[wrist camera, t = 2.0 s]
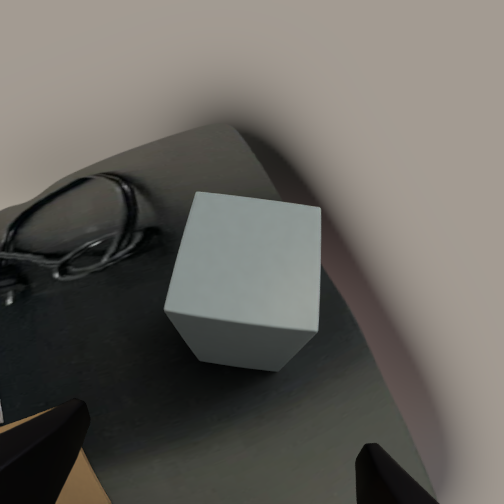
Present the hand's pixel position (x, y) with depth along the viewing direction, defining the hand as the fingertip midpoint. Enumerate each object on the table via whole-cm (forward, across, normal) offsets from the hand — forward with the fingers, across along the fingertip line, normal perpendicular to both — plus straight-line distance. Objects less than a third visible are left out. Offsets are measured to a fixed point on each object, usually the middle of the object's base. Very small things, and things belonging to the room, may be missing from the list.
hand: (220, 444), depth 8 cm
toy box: (+15, 0, +4) cm, 15 cm away
